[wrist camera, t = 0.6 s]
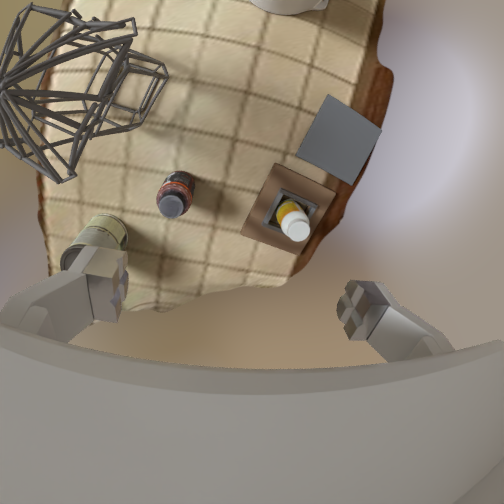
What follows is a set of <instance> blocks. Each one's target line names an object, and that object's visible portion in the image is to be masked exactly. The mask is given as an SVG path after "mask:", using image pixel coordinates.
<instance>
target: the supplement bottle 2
mask: <svg viewBox="0 0 504 504" xmlns="http://www.w3.org/2000/svg"><path fill="white" fill-rule="evenodd" d="M275 214H276V218H277V220H278V222H279V224H280V226H281V229H282V231H283V232H284V234H285V235H287V236H288V237H290V238H291V239H292V240H293V241H297V242H299V241H303V240H305V239H306V238H307V237H308V236H309V233H310V227H309V219H308V217H307V215H306V214H305V212H304V211H303V210H302V208H301V207H300V205H299V204H298V203H297V202H296V201H294V200H291V199H288V200H284V201H281V202H280V203H279V204H278V205H277V207H276V210H275Z"/></svg>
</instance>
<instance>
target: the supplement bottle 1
mask: <svg viewBox="0 0 504 504" xmlns="http://www.w3.org/2000/svg"><path fill="white" fill-rule="evenodd" d="M194 189H195V183H194V180H193V178H192V176H191V175H190V174H188V173H187V172H184V171H175V172H173V173H171V174H170V175H169V176H168V177H167V178H166V180H165V181H164V183H163V185H162V187H161V188H160V190H159V192H158V194H157V199H156V200H157V205H158V208H159V210H160V212H161V213H162V215H163V216H165V217H167V218H177V217H178V216H181V215H183V214H184V213H186V212H187V211H188V209H189V208H190V205H191V202H192V198H193V193H194Z"/></svg>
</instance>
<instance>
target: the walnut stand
mask: <svg viewBox="0 0 504 504" xmlns="http://www.w3.org/2000/svg"><path fill="white" fill-rule="evenodd" d="M283 194H284V195H286V196H288V197H291V198H293V199H295V200H297V201H300V202H302V203H304V204H306V205H307V207H306V209H305V211H304V212H305V214H306V215H307V217H308V219H309V227H310V233H309V236H308V237H307V238H306V239H305V240H303V241H299V242H297V241H293V240H292V239H291V238H290V237H288V236H287V235H285V234H284V232H283V231H282V229H281V226H280V224H278V223H275V222H273V221H270V218H271V217H272V215H273V213H274V211H275V209H276V207H277V205H278V203H279V201H280V200H281V198H282V196H283ZM335 194H336V193H335V192H334V191H332V190H330V189H329V188H327V187H325V186H323V185H321V184H319V183H317V182H315V181H313V180H311V179H309V178H307V177H305V176H303V175H301V174H299V173H297V172H294V171H292V170H290V169H288V168H286V167H284V166H282V165H280V164H277V163H274V165H273V167H272V169H271V171H270V173H269V175H268V177H267V179H266V181H265V183H264V185H263V187H262V189H261V191H260V193H259V195H258V197H257V199H256V201H255V203H254V205H253V207H252V209H251V211H250V213H249V215H248V217H247V219H246V221H245V223H244V225H243V227H242V229H241V231H240V232H241V235H243V236H246V237H248V238H251V239H254V240H257V241H260V242H262V243H265V244H268V245H271V246H273V247H276V248H279V249H282V250H285V251H287V252H290V253H293V254H296V255H298V256H299V255H300V253H301V252H302V250H303V248H304V247H305V245H306V243H307V242H308V240H309V238H310V237H311V235H312V233H313V232H314V230H315V228H316V227H317V225H318V223H319V222H320V220H321V218H322V217H323V215H324V213H325V212H326V210H327V208H328V206H329V205H330V203H331V201H332V200H333V198H334V196H335Z"/></svg>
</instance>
